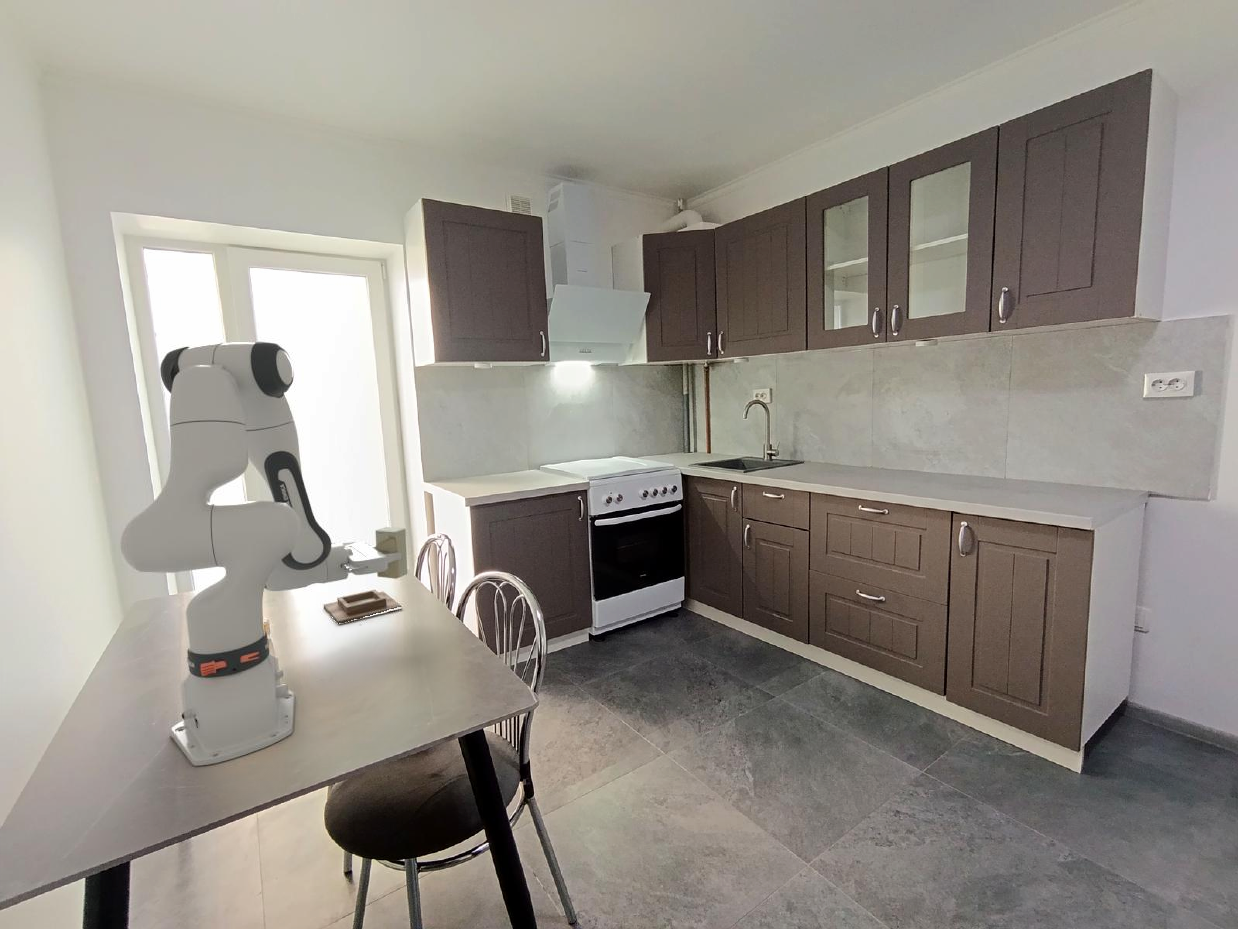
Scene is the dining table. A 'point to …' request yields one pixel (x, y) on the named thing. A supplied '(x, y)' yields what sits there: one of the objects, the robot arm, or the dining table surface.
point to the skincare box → (392, 550)
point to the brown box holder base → (360, 605)
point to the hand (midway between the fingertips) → (395, 551)
